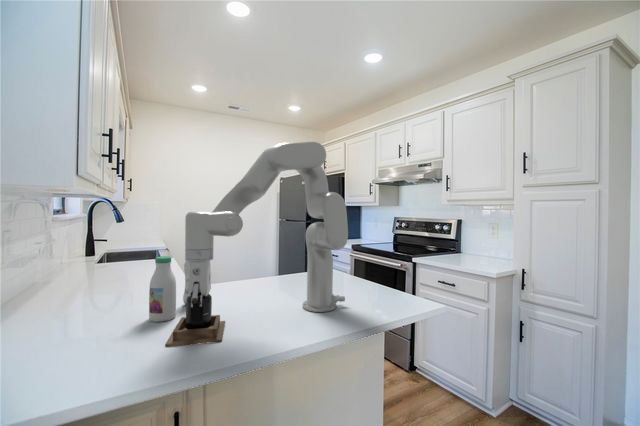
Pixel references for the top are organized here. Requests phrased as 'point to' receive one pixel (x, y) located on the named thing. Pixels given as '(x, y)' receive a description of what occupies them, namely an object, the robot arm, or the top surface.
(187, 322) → the supplement bottle
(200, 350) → the top surface
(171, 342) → the walnut stand
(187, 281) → the plastic bottle
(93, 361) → the top surface
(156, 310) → the milk bottle
